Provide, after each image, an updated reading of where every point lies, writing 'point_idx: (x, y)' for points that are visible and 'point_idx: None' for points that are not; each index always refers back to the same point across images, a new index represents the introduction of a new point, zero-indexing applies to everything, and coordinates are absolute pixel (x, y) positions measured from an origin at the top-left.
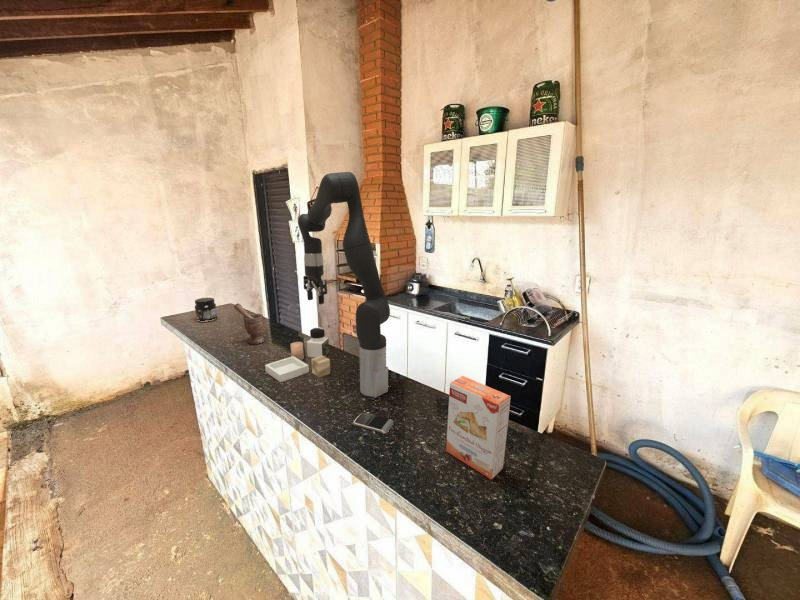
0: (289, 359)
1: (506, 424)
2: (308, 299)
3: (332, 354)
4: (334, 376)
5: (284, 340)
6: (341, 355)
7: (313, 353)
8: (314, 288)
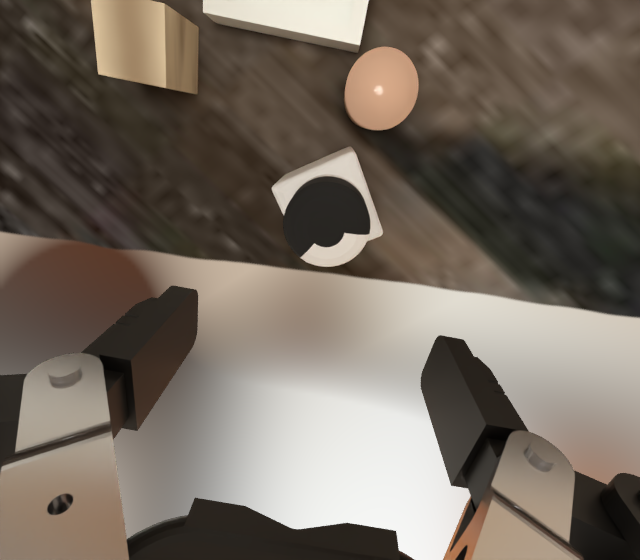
0: (353, 7)
1: None
2: (444, 338)
3: None
4: None
5: (591, 218)
6: (249, 243)
7: (321, 159)
8: (218, 505)
